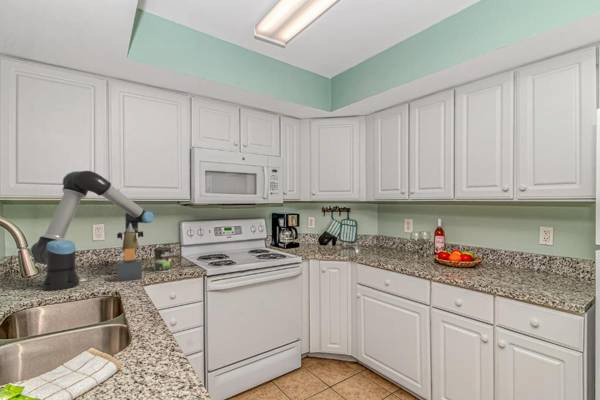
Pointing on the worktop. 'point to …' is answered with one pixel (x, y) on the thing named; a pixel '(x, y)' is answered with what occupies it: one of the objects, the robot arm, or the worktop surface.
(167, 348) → the worktop surface
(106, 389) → the worktop surface
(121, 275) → the switch box
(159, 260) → the coffee can
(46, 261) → the robot arm
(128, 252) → the breaker handle
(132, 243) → the squeeze bottle
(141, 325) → the worktop surface
